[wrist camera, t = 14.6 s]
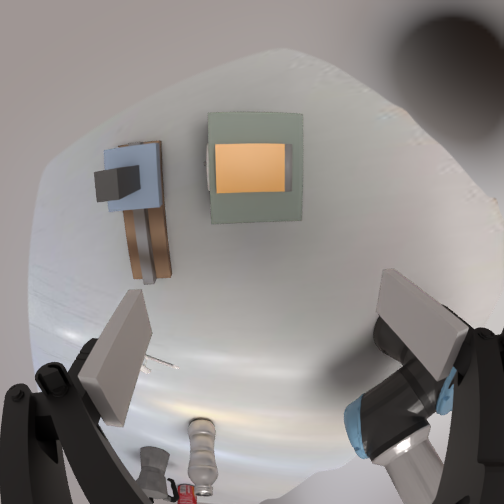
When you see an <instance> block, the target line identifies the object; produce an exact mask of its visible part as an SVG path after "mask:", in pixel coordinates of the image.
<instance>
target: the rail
mask: <svg viewBox="0 0 504 504" xmlns="http://www.w3.org/2000/svg"><path fill="white" fill-rule="evenodd" d="M150 143H159V150H160V172H161V189H162V202H163V205H161V206H160V207H157V208H145V209H133V210H123V214H124V222H125V230H126V237H127V244H128V250H129V256H130V262H131V268H132V273H133V278H134V279H143V283H144V285H145V284H154V283H155V281H156V279H157V278H171V275H172V270H171V262H170V254H169V246H168V236H167V227H166V216H165V204H164V190H163V174H162V152H161V141H151V142H135V143H128V145H121V146H118V148H120V147H127V146H134V145H142V144H150Z"/></svg>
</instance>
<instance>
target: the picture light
mask: <svg viewBox="0 0 504 504" xmlns="http://www.w3.org/2000/svg"><path fill="white" fill-rule="evenodd" d="M144 358H146V359H151V360H154V361H156V362H159V363H162V364H165V365H167V366H170V367H172V368H177V369H178V368H179V367H177V366H175V365H172V364H170V363H167V362H164V361H161V360H159V359H156V358H153V357H151V356H148V355H146V354H145V357H144ZM146 362H147V360H146ZM145 365H146V363H145ZM179 369H180V368H179ZM140 371H142V372H144V373H146V374H148V373H150V372H151V370H150V369H148V368H146V366H144V365H142V366H141V369H140Z"/></svg>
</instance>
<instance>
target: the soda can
mask: <svg viewBox="0 0 504 504" xmlns="http://www.w3.org/2000/svg"><path fill="white" fill-rule="evenodd" d="M178 494H179V497H180V498H179V500H177V504H197V496H196V495H195V489H194V487H193V486H192V485H188V484H182V485H180V486H178Z"/></svg>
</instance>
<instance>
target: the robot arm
mask: <svg viewBox="0 0 504 504" xmlns="http://www.w3.org/2000/svg"><path fill="white" fill-rule="evenodd" d="M376 312H377V313H378V314H379V315H380V317H379V318H378V320H377V323H376V325H375V329H374V341H375V343H376V345H377V346H378V348H379V349H380V350H381V351H382V352H383V353H385V354H386V355H389V356H390V357H392V358H393V359H395V360H397V361H399V362H401V364H402V365H403V367H401V368H400V369H399V370H397V371H396V372H395V373H393V374H392V375H391V376H389V377H388V378H387V379H385V380H384V381H383V382H381V383H380V384H378V385H377V386H375V387H374V388H372V389H371V390H369V391H368V392H366V393H364V394H362V395H361V396H360V397H359V398H358V399H356V400H355V401H354V402H352V403H351V404H349V405H348V406H347V407H346V409H345V412H344V423H345V428H346V432H347V435H348V438H349V440H350V443H351V445H352V447H354V450H355V452H356V454H357V455H358V456H359V457H360V458H362V459H365V458H369V457H370V459H371V461H372V463H373V464H377V465H382V466H384V467H385V468H386V470H387V472H388V474H389V476H390V478H391V480H392V482H393V484H394V486H395V488H396V489H397V491H398V493H399V495H400V497H401V499H402V501H403V503H404V504H504V328H503V331H502V333H501V334H500V335H495V334H494V333H493V332H492V331H490V330H489V329H486V328H480V327H479V328H476V329H473V328H472V327H471V326H470V325H469V324H467V323H466V322H465V321H464V320H463V319H461V318H460V317H458V315H457V314H455V313H453V311H452V310H450V309H449V308H448V307H446V306H444V305H442V304H440V303H439V302H437V301H436V300H435V299H433V298H432V297H431V296H430V295H428V294H427V293H426V292H424V291H423V290H422V289H420V288H419V287H418V286H416V285H415V284H414V283H412V282H411V281H410V280H408V279H407V278H406V277H404V276H403V275H402V274H400V273H399V272H398V271H396V270H395V269H385V270H383V273H382V279H381V286H380V292H379V298H378V303H377V309H376ZM151 336H152V329H151V326H150V322H149V318H148V314H147V309H146V305H145V301H144V296H143V292H142V289H137V290H128V292H127V293H126V295H125V296H124V298H123V299H122V301H121V303H120V304H119V306H118V307H117V309H116V310H115V312H114V314H113V315H112V317H111V319H110V320H109V322H108V323H107V325H106V327H105V328H104V330H103V332H102V333H101V335H100V337H99V339H96V338H92V339H91V340H89V341H88V342H87V343H86V344H85V345H84V346H83V348H82V349H81V351H80V354H78V356H77V357H76V360H75V361H74V363H73V364H72V366H71V368H70V369H69V371H68V373H67V371H66V369H65V367H64V366H63V364H61V363H59V362H51V363H47V364H45V365H43V366H42V367H41V368H40V369H38V371H37V372H36V374H35V380H36V382H37V384H38V385H39V387H40V389H41V390H42V392H39V393H32V392H31V390H30V389H29V387H28V386H27V385H25V384H16V385H14V386H12V387H11V388H10V389H9V390H8V391H7V393H6V395H5V400H4V407H3V415H2V424H1V434H0V494H1V504H73V503H72V499H71V495H70V490H69V486H68V481H67V476H66V471H65V465H64V458H63V451H62V447H63V450H64V452H65V455H66V457H67V459H68V462H69V464H70V466H71V468H72V470H73V473H74V475H75V476H76V479H77V481H78V483H79V485H80V486H81V489H82V490H83V492H84V494H85V496H86V498H87V499H88V501H89V503H90V504H153V503H152V502H151V500H150V499H149V498H148V497H147V496H146V494H145V493H144V492H143V491H142V489H141V488H140V487H139V485H138V484H137V483H136V481H135V480H134V479H133V477H132V476H131V475H130V473H129V472H128V470H127V469H126V467H125V466H124V465H123V463H122V462H121V460H120V459H119V457H118V455H117V454H116V452H115V451H114V449H113V448H112V446H111V444H110V443H109V441H108V439H107V438H106V436H105V434H104V433H103V431H102V429H101V427H100V426H99V424H98V423H99V420H100V417H101V418H102V419H103V421H104V422H105V424H106V425H109V426H116V427H124V423H125V419H126V416H127V412H128V409H129V405H130V402H131V398H132V395H133V392H134V388H135V385H136V382H137V379H138V375H139V372H140V369H141V366H142V363H143V360H144V357H145V354H146V351H147V348H148V345H149V342H150V339H151ZM450 411H452V417H451V418H452V419H451V427H450V434H449V440H448V447H447V452H446V457H445V462H444V464H443V463H442V461H441V459H440V457H439V456H438V454H437V453H436V451H435V449H434V448H433V446H432V444H431V443H430V441H429V439H428V435H429V432H430V428H431V426H430V424H429V423H428V421H427V418H428V417H430V416H431V415H432V414H433V413H435V412H437V414H440V415H445V414H447V413H448V412H450Z"/></svg>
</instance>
